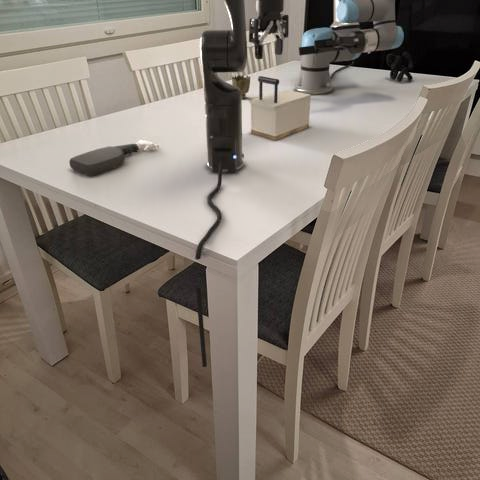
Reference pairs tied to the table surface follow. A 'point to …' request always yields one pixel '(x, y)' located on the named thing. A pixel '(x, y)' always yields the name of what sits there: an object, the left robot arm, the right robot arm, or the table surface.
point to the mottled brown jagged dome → (242, 84)
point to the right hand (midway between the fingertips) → (306, 48)
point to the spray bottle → (106, 157)
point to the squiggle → (399, 66)
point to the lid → (277, 95)
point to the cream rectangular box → (280, 119)
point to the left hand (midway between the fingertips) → (268, 56)
